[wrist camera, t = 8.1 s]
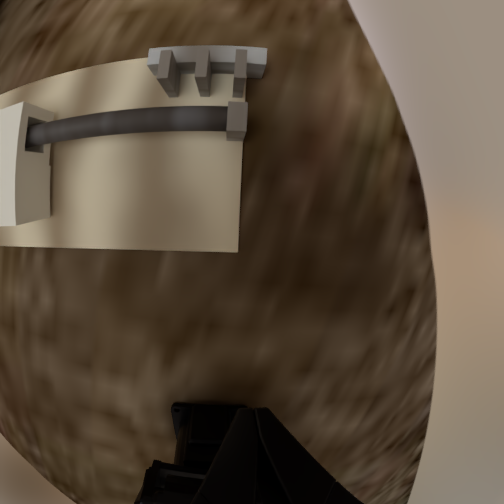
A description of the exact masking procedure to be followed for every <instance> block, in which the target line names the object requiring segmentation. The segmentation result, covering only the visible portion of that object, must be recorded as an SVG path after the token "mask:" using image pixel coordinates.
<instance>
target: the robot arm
mask: <svg viewBox="0 0 504 504" xmlns="http://www.w3.org/2000/svg"><path fill="white" fill-rule="evenodd" d="M175 408H177V409H175ZM171 413H172V418H173V424H174V429H175V434H176V439H177V444H176V451H175V459H174V464H169V463H164V462H161V461H159V460H154V461H153V464H152V467H149V469H146V473H145V477H144V482H143V486H142V488H141V490H140V492H139V494H138V496H137V498H136V500H135V502H134V504H364V503H362V502H361V501H359V500H358V499H357V498H356V497H355V496H353V495H352V494H351V493H350V492H349V491H348V490H346V489H345V488H344V487H343V486H342V485H341V484H340V483H339V482H336V479H335V478H334V477H333V476H332V475H330V474H329V473H328V472H327V471H326V470H325V469H324V468H323V467H322V466H321V465H320V464H319V463H318V462H317V461H316V460H315V459H314V458H313V457H312V455H311V454H310V453H309V452H308V451H307V450H306V449H305V448H304V447H303V446H302V445H301V444H300V443H299V442H298V441H297V440H296V439H295V438H294V436H293V435H292V434H291V433H290V432H289V431H288V430H287V429H286V428H285V427H284V426H283V424H282V423H281V422H280V421H279V420H278V419H277V418H276V417H275V415H274V414H273V413H272V412H271V411H270V410H269V409H268V408H266V407H263V408H254V409H252V408H248V407H247V406H243V405H242V406H226V405H195V404H179V403H175V404H173V405H172V407H171Z"/></svg>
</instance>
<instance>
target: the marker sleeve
mask: <svg viewBox="0 0 504 504" xmlns="http://www.w3.org/2000/svg"><path fill="white" fill-rule="evenodd" d="M53 119H54V112H51V111H48V110H46V109H43V108H40V107H38V106H35V105H32V104H29V103H26V102H24V101H23V102H20V103H18V104H15V105H12V106H9V107H6V108H4V109H1V110H0V226H17V225H21V224H25V223H29V222H33V221H37V220H42V219H46V218H50V168H51V166H49V158H50V145H51V143H49V144H44V145H39V146H34V147H29V148H25V140H26V132H27V127H29V126H33V125H37V124H41V123H46V122H50V121H53Z"/></svg>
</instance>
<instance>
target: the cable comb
mask: <svg viewBox="0 0 504 504" xmlns="http://www.w3.org/2000/svg"><path fill="white" fill-rule="evenodd" d="M266 60H267V48H258V47H244V46H176V47H162V48H152V49H149V55H148V58H141V59H133V60H126V61H119V62H113V63H107V64H102V65H97V66H92V67H87V68H83V69H78V70H74V71H70V72H66V73H63V74H59V75H55V76H52V77H49V78H45V79H42V80H39V81H36V82H33V83H30V84H27V85H24V86H22V87H19V88H16V89H14V90H11V91H9V92H6V93H4V94H1V95H0V110H1V109H4V108H6V107H9V106H12V105H15V104H18V103H20V102H23V101H24V102H26V103H29V104H32V105H35V106H38V107H40V108H43V109H46V110H48V111H51V112H54V119H53V121H50V122H46V123H41V124H37V125H33V126H29V127H27V132H26V140H25V148H29V147H34V146H39V145H44V144H49V143H51V145H50V158H49V166H51V168H50V218H46V219H42V220H37V221H33V222H29V223H25V224H21V225H17V226H0V246H22V247H58V248H93V249H129V250H166V251H203V252H238V239H239V214H240V191H241V169H242V149H243V140H244V137H245V134H246V130H247V111H248V102H245V94H246V78H259V79H262V76H263V73H264V70H265V67H266Z"/></svg>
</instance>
